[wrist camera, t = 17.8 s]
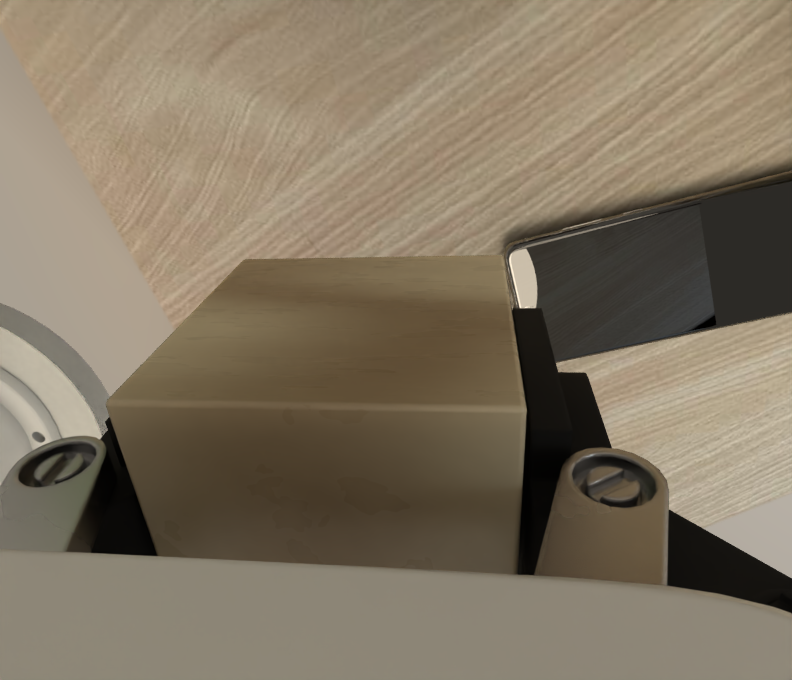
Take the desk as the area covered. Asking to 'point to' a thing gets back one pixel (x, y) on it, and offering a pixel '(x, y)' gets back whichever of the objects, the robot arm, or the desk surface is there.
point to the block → (336, 417)
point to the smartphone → (660, 269)
